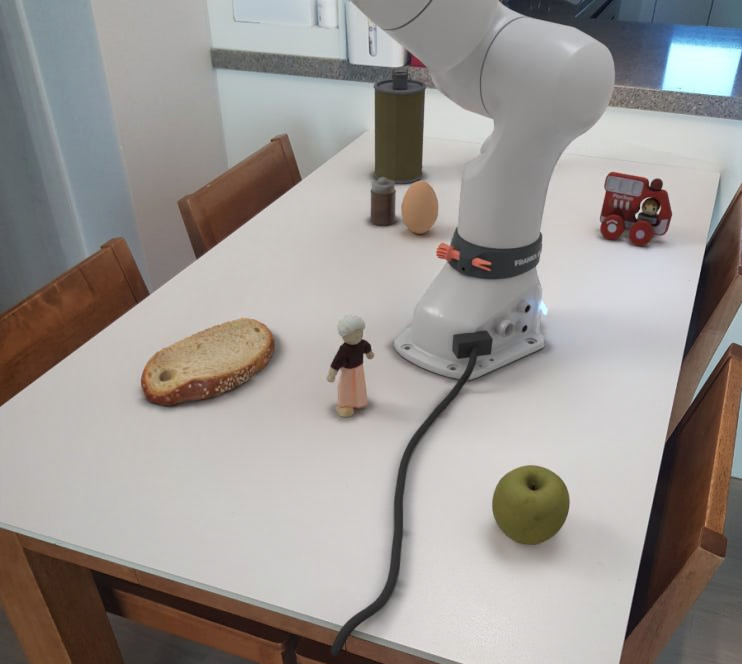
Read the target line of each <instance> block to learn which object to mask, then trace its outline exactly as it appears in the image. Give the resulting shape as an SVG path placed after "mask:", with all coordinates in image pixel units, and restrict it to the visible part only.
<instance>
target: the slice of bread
mask: <svg viewBox="0 0 742 664" xmlns="http://www.w3.org/2000/svg"><path fill="white" fill-rule="evenodd" d="M275 344H276V343H275V338H274V335H273V333H272V332H271V330H270V328H269V327H268V326H267V325H266V324H265V323H263V322H261V321H259V320H258V319H254V318H246V317H241V318H237V319H233V320H231V321H229V320H228V321H225V322H222V323H221V324H217V325H214V326H212V327H208V328H205V329H204V330H201V331H198V332H196V333H193V334H191V335H190V336H187V337H185V338H183V339H181V340H178V341H176V342H173V344H170V345H168V346H167V347H163V348H161V349H160V350H158V351H156V352H155V353H154V354H153V355H152V357H150V358H149V360H148V361H147V363H146V365H145V366H144V368H143V370H142V373H141V376H140V386H141V389H142V392H143V395H144V397H145V399H146V400H147V401H148V402H150V403H155V404H158V405H163V406H174V405H177V404H178V403H185V402H190V401H200V400H205V399H211V398H214V397H215V398H216V397H218V396H220V395H222V394H224V393H225V392H230V391H231V390H233V389H235V388H237V387H240V386H241V385H242V384H244V383H247V382H248V381H249V380H251V378H252V376H254V374H256V373H258V372H260V371H262V370H263V369H264V368H265V366H267V365H268V363H269V362H270V360H271V358H272V357H273V355H274V353H275V348H276V347H275Z"/></svg>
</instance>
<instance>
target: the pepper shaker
mask: <svg viewBox="0 0 742 664" xmlns="http://www.w3.org/2000/svg"><path fill="white" fill-rule="evenodd" d="M396 191H397V190H396V184H395V182H394V181H392V180H389V179H387V178H386V177H381V178H379V179H375V180H373V181H372V182H371V189H370V223H371V224H373V225H375V226H381V227H384V226H385V227H386V226H391V225H393V224H394V223H395V222H396V201H397V200H396V195H397V194H396V193H397V192H396Z"/></svg>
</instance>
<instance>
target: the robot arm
mask: <svg viewBox="0 0 742 664" xmlns="http://www.w3.org/2000/svg"><path fill="white" fill-rule="evenodd" d="M349 1H350V2H351V3H352V4H353V5H354V6H355V7H356V8H357V9H358V11H360V12H361V13H362V14H364V16H365V17H366V18H368V19H369V20H370V21H371V22H372V23H374V25H376V26H377V27H378V28H380V30H382V31H383V32H385V34H387V35H388V36H389V37H390V38H392V40H394V41H395V42H397V43H398V44H399V45H400V46H402V48H404V49H405V50H406V51H408V52H409V53H410V54H411V55H413V57H415V58H416V59H417V60H418V61H420V62H421V63H422V64H423V65H424V67H426V69H427V70H428V71H429V76H430V78H431V81H432V83H433V85H434V86H435V87H434V88H436V89H437V90H438V91H439V92H440V93H441V94H442V95H443V96H444V97H446V98H447V99H448V100H450V101H451V102H453V103H454V104H456V106H459V107H460V108H461V109H463V110H465V111H468V112H471V113H474V114H477V115H480V116H483V117H485V118H488V119H491V120H492V121H493V130H494V131H493V130H492V132H493V136H492V139H491V142H490V145H489V147H488V150H487V152H486V153H484V154H482V155H481V154H480V155H478V156H477V157H475V158H474V159H472V160H471V161H470V162H469V163H468V164H467V165H466V167H465V168H464V170H463V172H462V175H461V178H460V179H461V181H460V191H459V192H460V193H459V206H458V216H457V217H458V218H457V221H458V222H457V226H456V228H455V229H454V232H453V234H452V237H451V240H450V245H449V244H447V243H445V242H441V243H439V244H438V246H437V248H436V251H435V256H436V257H437V258H438V259H440V260H445V261H446V263H445V264H444V266H443V267H442V268H441V270H440V271H439V273H438V274H437V275H436V277H435V278H434V279H433V281H432V282H431V283H430V285H429V286H428V288H427V289H426V290H425V292H424V293H423V295H422V296H421V297H420V299H419V300H418V302H417V303H416V305H415V306H414V311H413V316H412V322H411V324H410V325H409V326H408V327H406V329H405V330H404V331H402V332H401V333H400V334H399V335H398V336H396V338H395V339H394V343H393V347H394V349H395V351H396V352H397V353H398V354H399V355H400V356H401V357H403V358H404V359H406V360H407V361H408V362H410V363H412V364H414V365H416V366H418V367H420V368H422V369H424V370H427V371H429V372H432V373H435V374H437V375H440V376H444V377H446V378H447V377H448V378H451V379H456V380H457V379H458V381H457V382H456V383H455V385H454V386H453V387H452V389H451V390H450V391H449V393H447V395H446V396H445V397H444V398H443V400H442V401H440V403H439V404H438V405H437V406H436V407H435V408H434V409H433V410H432V412H430V414H429V415H428V416H427V418H425V420H424V421H423V423H422V424H421V425H420V426H419V427H418V428H417V430H416V431H415V432H414V433H413V435H412V437H411V438H410V440H408V441H409V442H408V443H407V445H406V447H405V449H404V452H403V454H402V457H401V460H400V462H399V467H398V471H397V477H396V485H395V490H394V499H393V501H394V502H393V536H392V545H391V553H390V554H391V555H390V565H389V571H388V577H387V580H386V582H385V584H384V587H383V589H382V591H381V593H380V594H379V596H378V597H377V598H376V599H375V600H374V601H373V602H371V603H370V604H369V605H368V606H366V607H365V608H363V609H362V610H360V611H359V612H357V613H356V614H354V615H353V616H352V617H351V618H350V619H348V620H347V621H346V622H345V623H344V625H342V627H341V628H340V630H339V631H338V633H337V634H336V636H335V638H334V641H333V642H332V645H331V649H330V655H332V656H338V655H340V654H341V652H342V651H343V648H344V647H345V644H346V641H347V640H348V638H349V637H350V636H351V634H352V633H353V632H354V630H356V628H358V627H359V626H360V625H361V624H362V623H364V622H366V621H367V620H369V619H370V618H371V617H373V616H375V615H376V614H377V613H379V612H380V611H381V610H382V609H383V608H384V606H385V605H386V604H387V603H388V601H389V600H390V599H391V596H392V594H393V592H394V590H395V587H396V585H397V582H398V578H399V574H400V568H401V557H402V545H403V544H402V543H403V534H404V493H405V486H406V478H407V472H408V467H409V463H410V460H411V457H412V455H413V453H414V450H415V449H416V447H417V444H418V443H419V442H420V440H421V439H422V437H423V436H424V435H425V434H426V432H427V431H428V430H429V429H430V428H431V426H433V424H434V423H435V422H436V420H437V419H438V418H439V417H440V415H441V414H442V413H443V412H444V410H445V409H446V408H447V407H448V406H449V405H450V404H451V402H453V400H454V399H455V398H456V397H457V395H458V394H459V393H460V391H461V390H462V389H463V387H464V386H465V385H466V383H467V382H468V381H471V380H475V379H477V378H479V377H482V376H483V375H486V374H489V373H490V372H493V371H495V370H497V369H500V368H501V367H504V366H506V365H509V364H511V363H513V362H515V361H517V360H520V359H521V358H524V357H527V356H528V355H531V354H533V353H534V352H537V351H539V350H541V349H543V348H544V347H545V341H546V338H545V337H544V335H543V334H542V333H541V331H540V326H541V314H542V313H543V315H547V314H548V308H547V307H546V305H545V303H544V302H543V300H542V298H543V287H542V284H541V281H540V278H539V275H538V269H537V266H538V265H539V263H540V261H541V259H540V258H541V254H542V251H543V234H542V232H541V230H542V229H541V228H542V224H543V218H544V211H545V205H546V201H547V195H548V190H549V185H550V182H551V179H552V177H553V173H554V170H555V168H556V166H557V164H558V162H559V160H560V158H561V156H562V154H563V153H564V152H565V150H566V149H567V148H568V147H569V146H570V145H571V143H572V142H574V140H576V139H577V138H579V137H580V136H583V135H584V134H585V133H587V132H588V131H590V130H591V129H592V128H593V127H594V126H595V125H596V124H597V123H598V121H599V120H600V119H601V118H602V117H603V115H604V113H605V112H606V110H607V108H608V107H609V104H610V101H611V99H612V97H613V93H614V89H615V82H616V81H615V80H616V69H615V62H614V58H613V55H612V53H611V51H610V49H609V48H608V47H607V45H605V44H604V43H602V42H600V41H599V40H597V39H595V38H594V37H592V36H591V35H589V34H587V33H585V32H584V31H582V30H581V29H578V28H576V27H574V26H570V25H565V24H561V23H556V22H552V21H547V20H542V19H539V18H534V17H531V16H527V15H524V14H522V13H520V12H517V11H515V10H512V9H510V8H509V7H507V6H506V5H504V4H503V3H502V2H501V1H500V0H349ZM541 312H542V313H541Z"/></svg>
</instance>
